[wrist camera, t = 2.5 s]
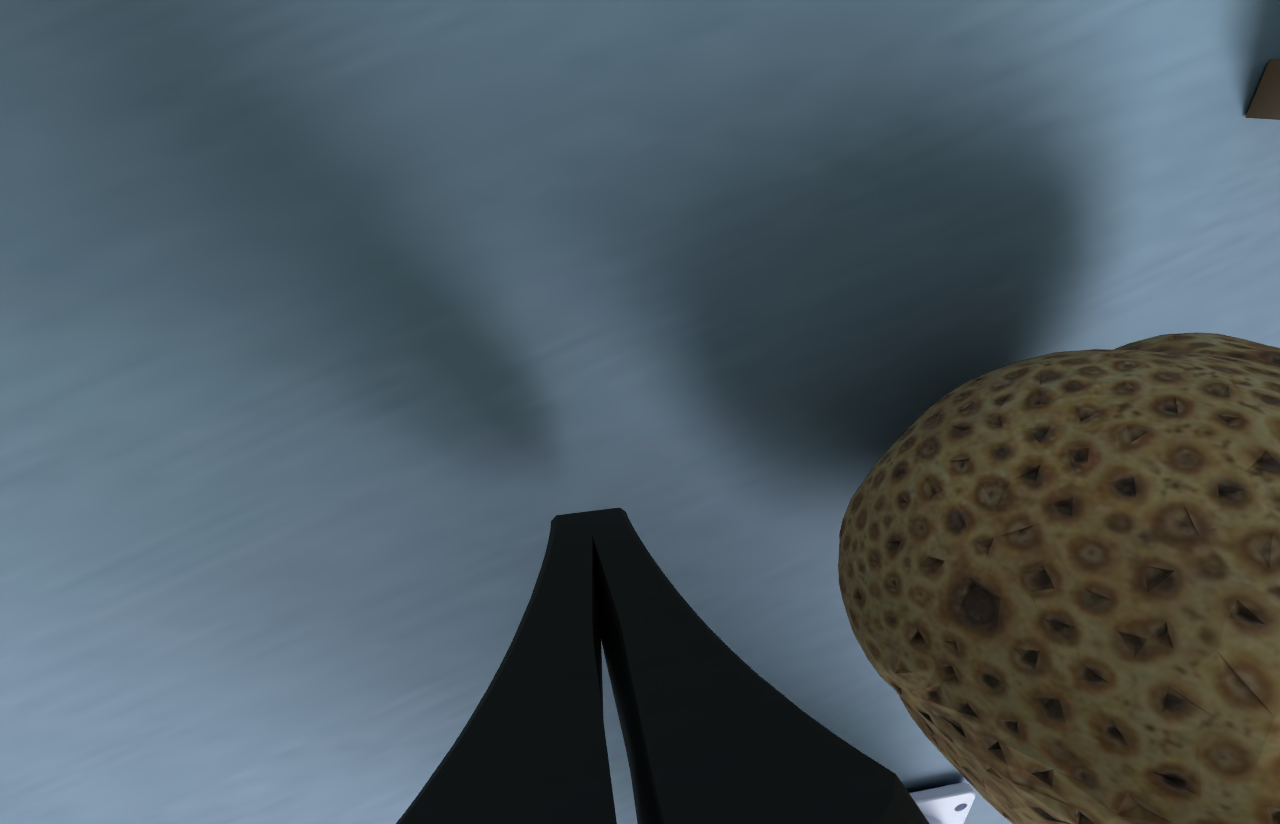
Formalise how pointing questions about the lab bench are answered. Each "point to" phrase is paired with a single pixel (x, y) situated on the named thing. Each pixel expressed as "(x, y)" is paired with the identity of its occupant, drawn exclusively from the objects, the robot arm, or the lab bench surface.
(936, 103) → the lab bench surface
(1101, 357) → the natural sponge
